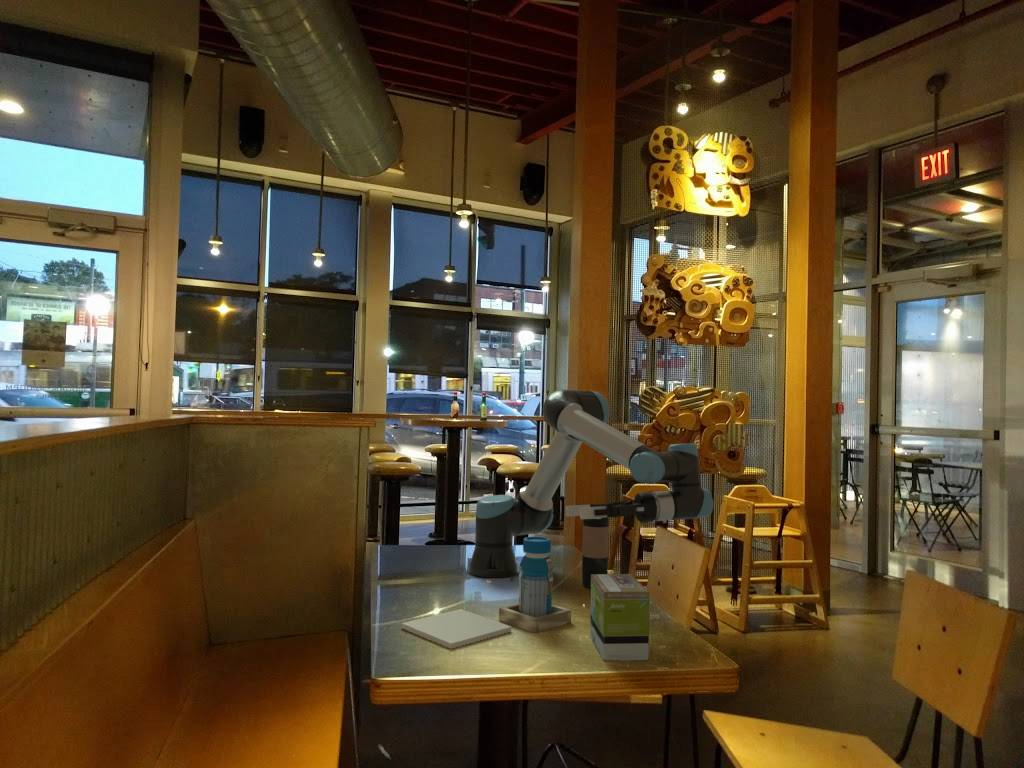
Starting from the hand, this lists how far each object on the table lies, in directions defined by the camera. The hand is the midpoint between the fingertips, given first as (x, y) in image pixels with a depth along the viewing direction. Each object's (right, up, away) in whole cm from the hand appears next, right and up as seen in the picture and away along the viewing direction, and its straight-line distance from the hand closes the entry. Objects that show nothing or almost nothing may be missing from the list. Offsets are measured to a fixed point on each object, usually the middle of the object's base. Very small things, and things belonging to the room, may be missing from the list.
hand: (572, 512), depth 179 cm
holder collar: (-10, -25, -6) cm, 28 cm away
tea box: (+8, -26, -24) cm, 36 cm away
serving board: (-28, -25, -14) cm, 40 cm away
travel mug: (+9, -27, +31) cm, 42 cm away
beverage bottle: (-10, -26, -6) cm, 28 cm away
